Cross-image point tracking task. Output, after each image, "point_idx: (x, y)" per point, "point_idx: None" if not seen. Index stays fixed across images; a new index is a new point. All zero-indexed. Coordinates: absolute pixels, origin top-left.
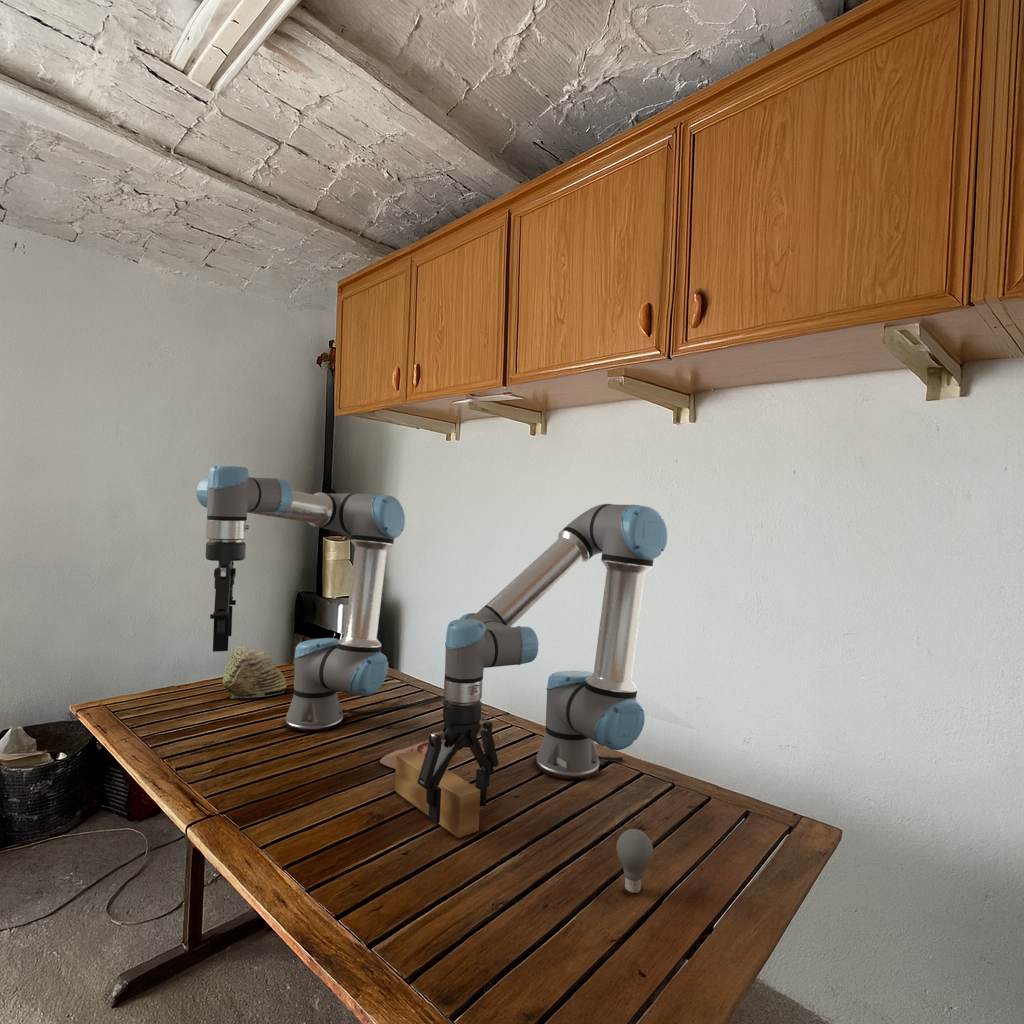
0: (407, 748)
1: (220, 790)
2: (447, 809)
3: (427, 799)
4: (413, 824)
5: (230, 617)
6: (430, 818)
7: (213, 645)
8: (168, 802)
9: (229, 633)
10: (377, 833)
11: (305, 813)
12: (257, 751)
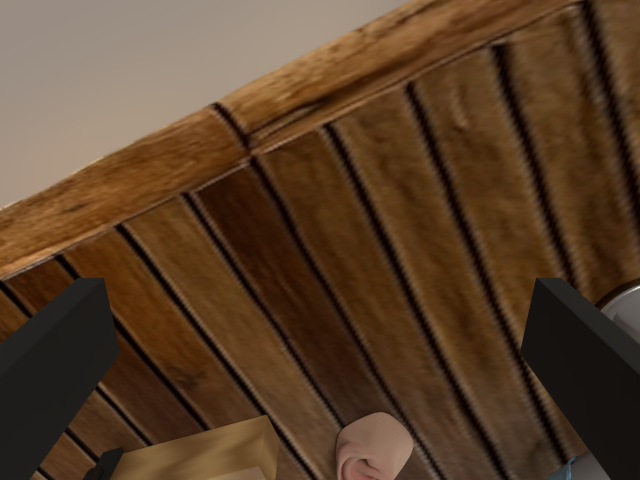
0: (381, 464)
1: (351, 151)
2: (123, 475)
3: (93, 472)
4: (157, 418)
5: (602, 454)
6: (116, 449)
7: (53, 302)
8: (325, 51)
9: (529, 355)
10: (139, 375)
11: (220, 291)
12: (528, 216)
